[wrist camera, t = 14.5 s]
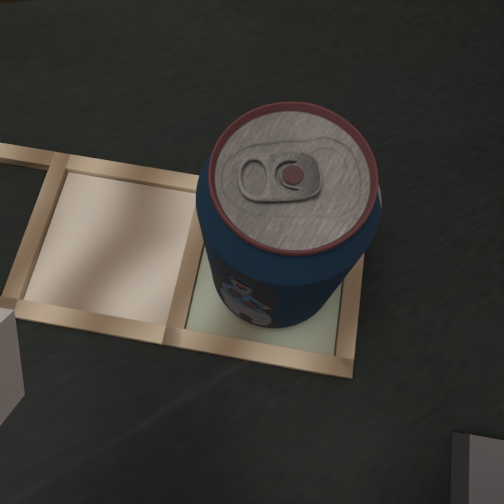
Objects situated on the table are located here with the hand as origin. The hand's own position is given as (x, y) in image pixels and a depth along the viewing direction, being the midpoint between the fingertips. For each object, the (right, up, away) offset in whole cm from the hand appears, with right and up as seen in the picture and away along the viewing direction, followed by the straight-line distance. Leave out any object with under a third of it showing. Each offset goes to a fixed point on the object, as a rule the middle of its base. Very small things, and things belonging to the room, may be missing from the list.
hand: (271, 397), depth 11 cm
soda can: (+1, +2, +15) cm, 15 cm away
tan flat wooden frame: (-9, +4, +16) cm, 19 cm away
